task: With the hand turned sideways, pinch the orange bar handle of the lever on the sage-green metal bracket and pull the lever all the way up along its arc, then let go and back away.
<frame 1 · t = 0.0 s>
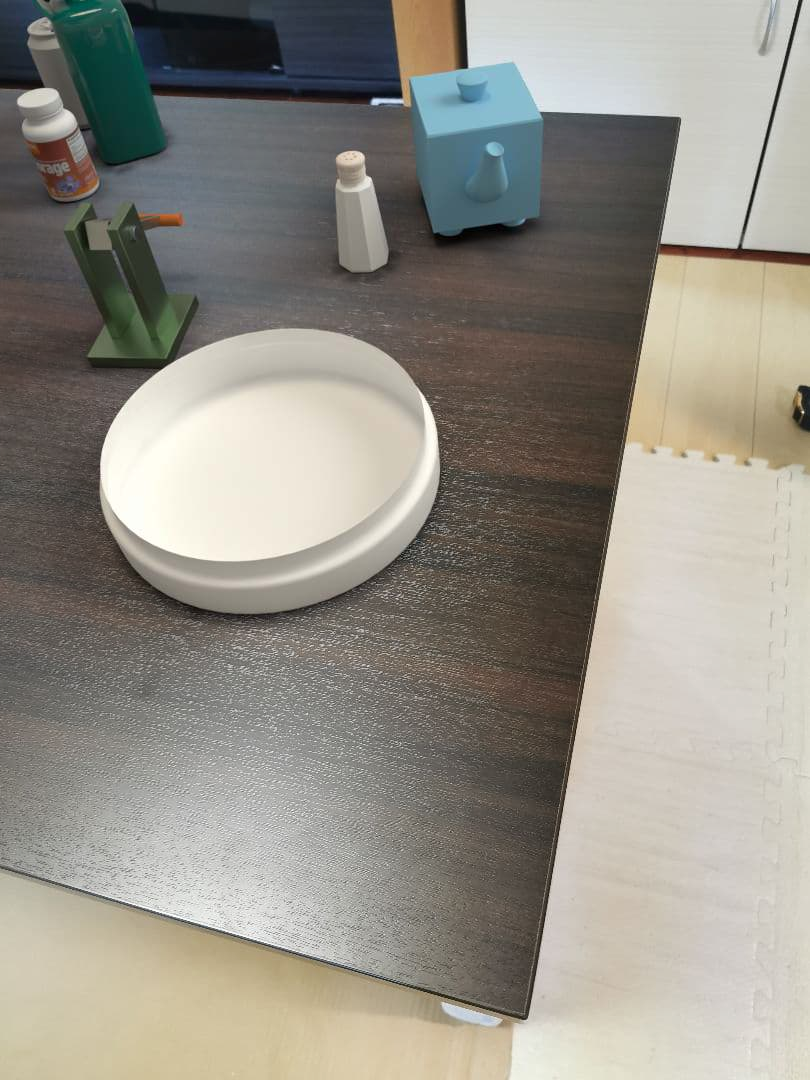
white round dish: (277, 480, 69), on the table
teapot: (478, 217, 91), on the table
can: (88, 120, 115), on the table
salt shaker: (364, 260, 88), on the table
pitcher: (128, 149, 109), on the table
lever: (131, 227, 79), point 9 cm above the table, hinge at -25.0°
pill bottle: (76, 191, 103), on the table
bracket: (146, 334, 83), on the table
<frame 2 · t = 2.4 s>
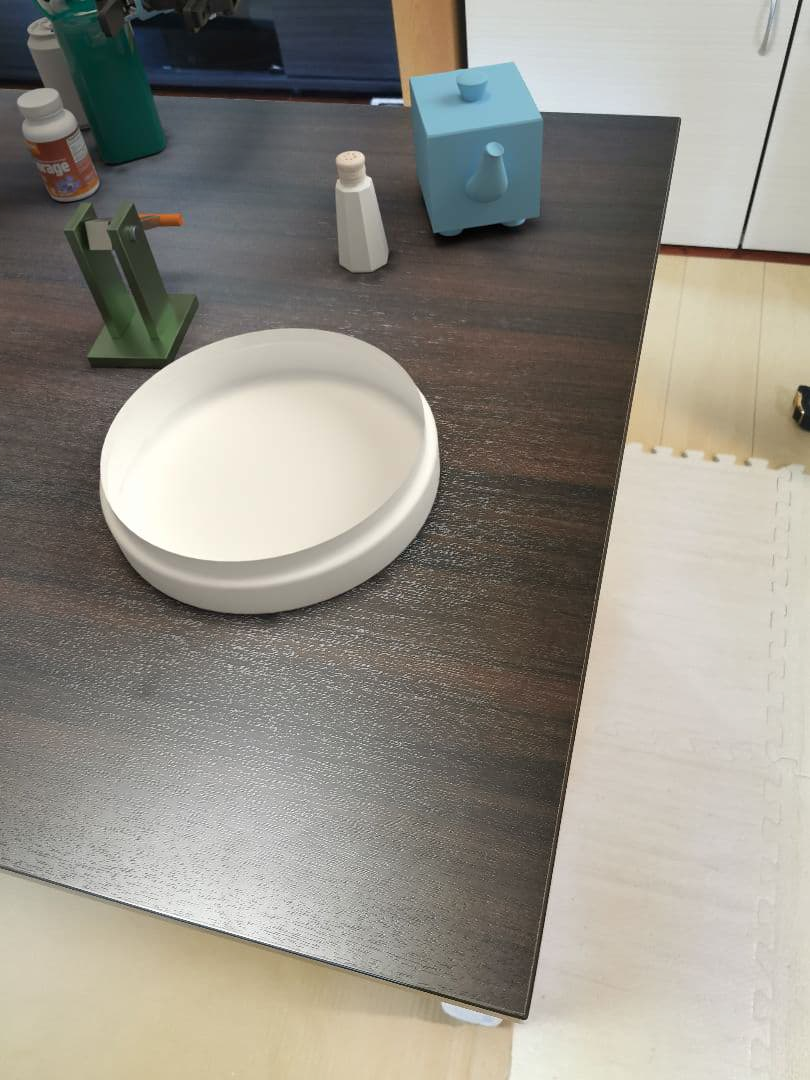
hand: (147, 24, 80), 20 cm above the table, tool horizontal, fingers open, 8 cm apart
nothing on the table moved.
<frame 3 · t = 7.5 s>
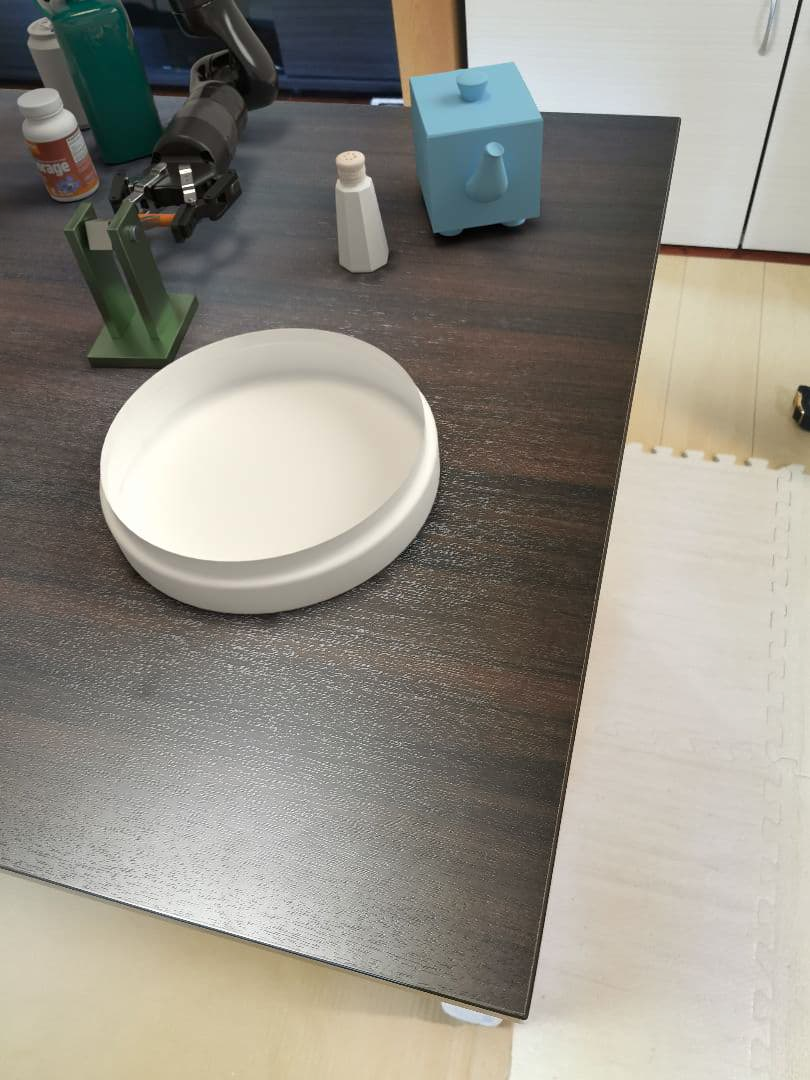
hand: (149, 234, 83), 6 cm above the table, tool horizontal, fingers closed on lever, 5 cm apart
lever: (131, 227, 79), point 9 cm above the table, hinge at -25.0°, touching gripper
everything else where it was.
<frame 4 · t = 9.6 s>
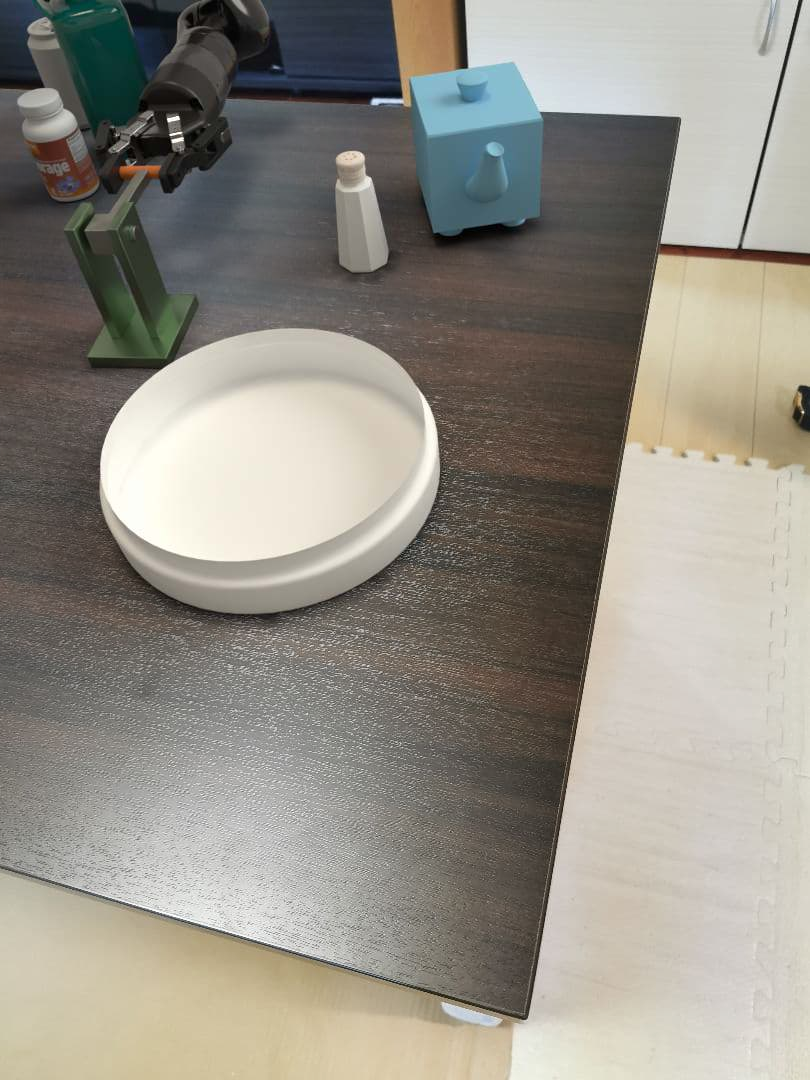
hand: (136, 184, 80), 11 cm above the table, tool horizontal, fingers closed on lever, 5 cm apart
lever: (125, 204, 78), point 11 cm above the table, hinge at -1.1°, touching gripper
everything else where it was.
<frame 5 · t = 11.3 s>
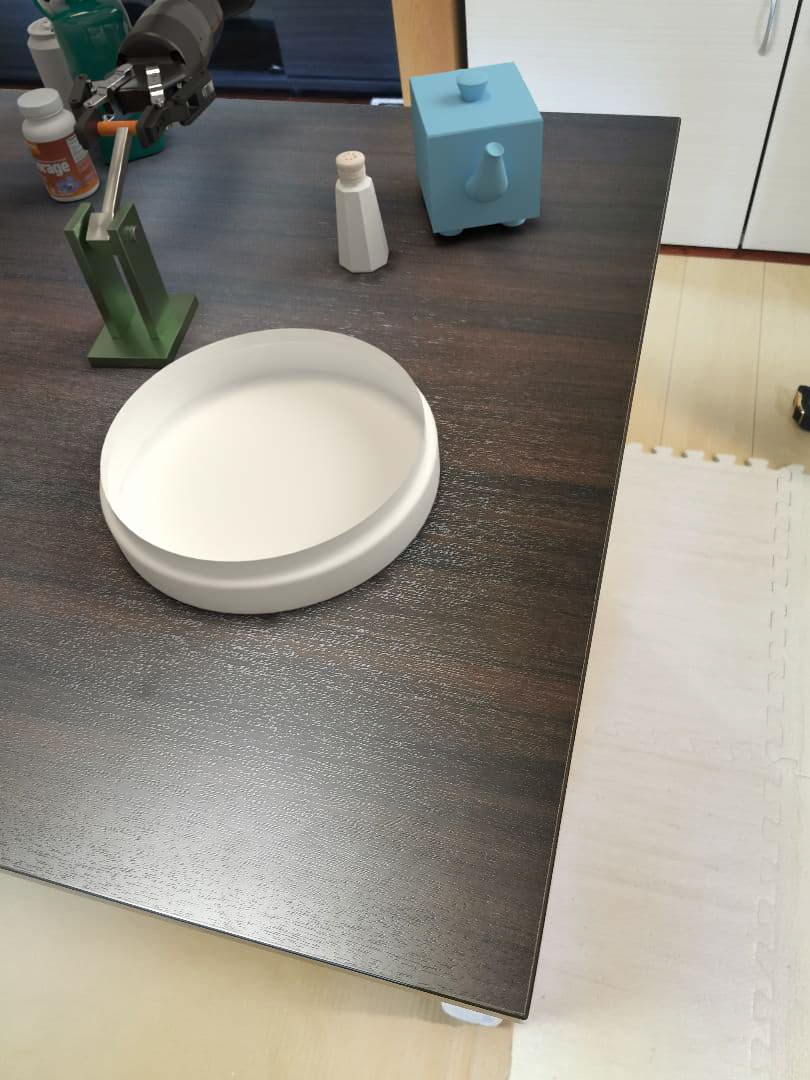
hand: (112, 139, 75), 16 cm above the table, tool horizontal, fingers closed on lever, 5 cm apart
lever: (115, 184, 76), point 13 cm above the table, hinge at 24.6°, touching gripper
everything else where it was.
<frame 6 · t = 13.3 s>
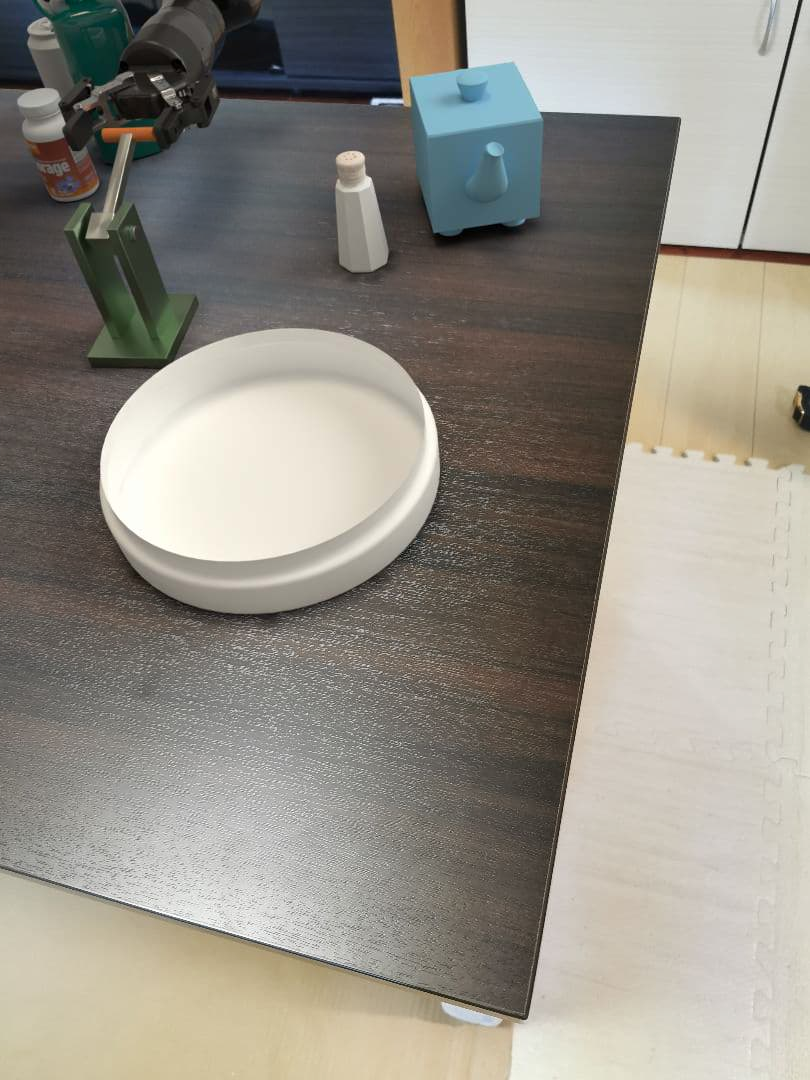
hand: (115, 140, 76), 16 cm above the table, tool horizontal, fingers open, 8 cm apart
lever: (117, 187, 76), point 13 cm above the table, hinge at 20.2°
everything else where it was.
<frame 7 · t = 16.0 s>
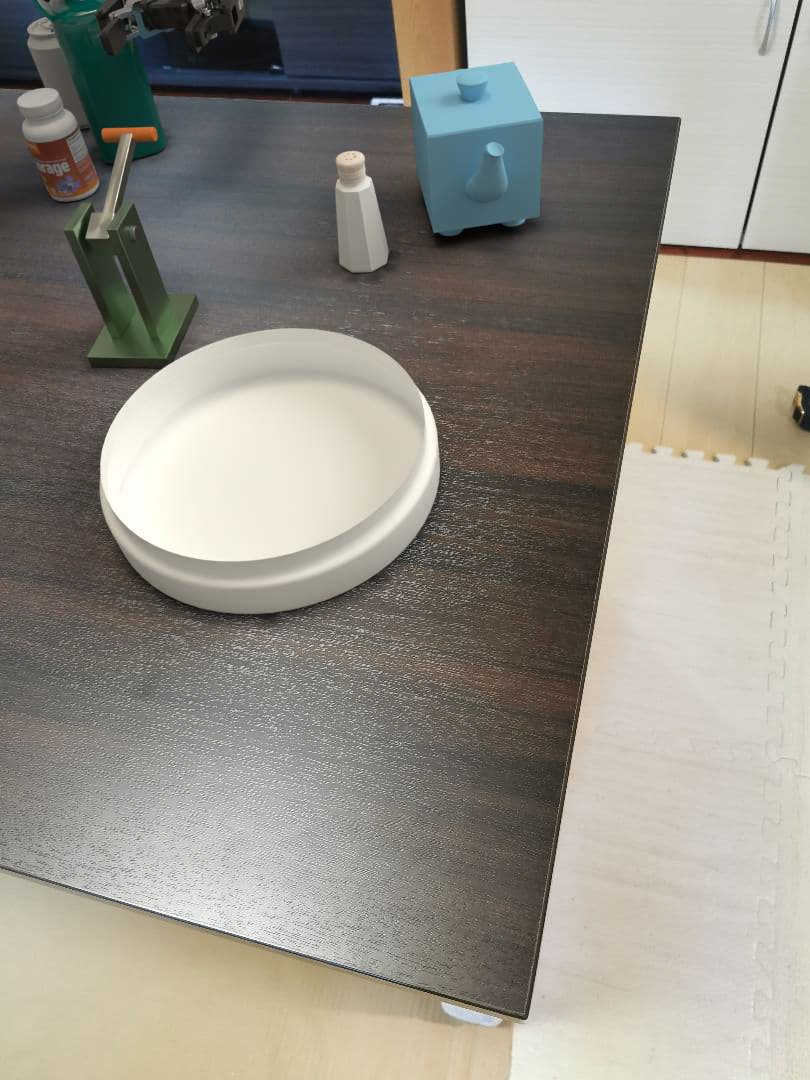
hand: (149, 44, 81), 19 cm above the table, tool horizontal, fingers open, 8 cm apart
nothing on the table moved.
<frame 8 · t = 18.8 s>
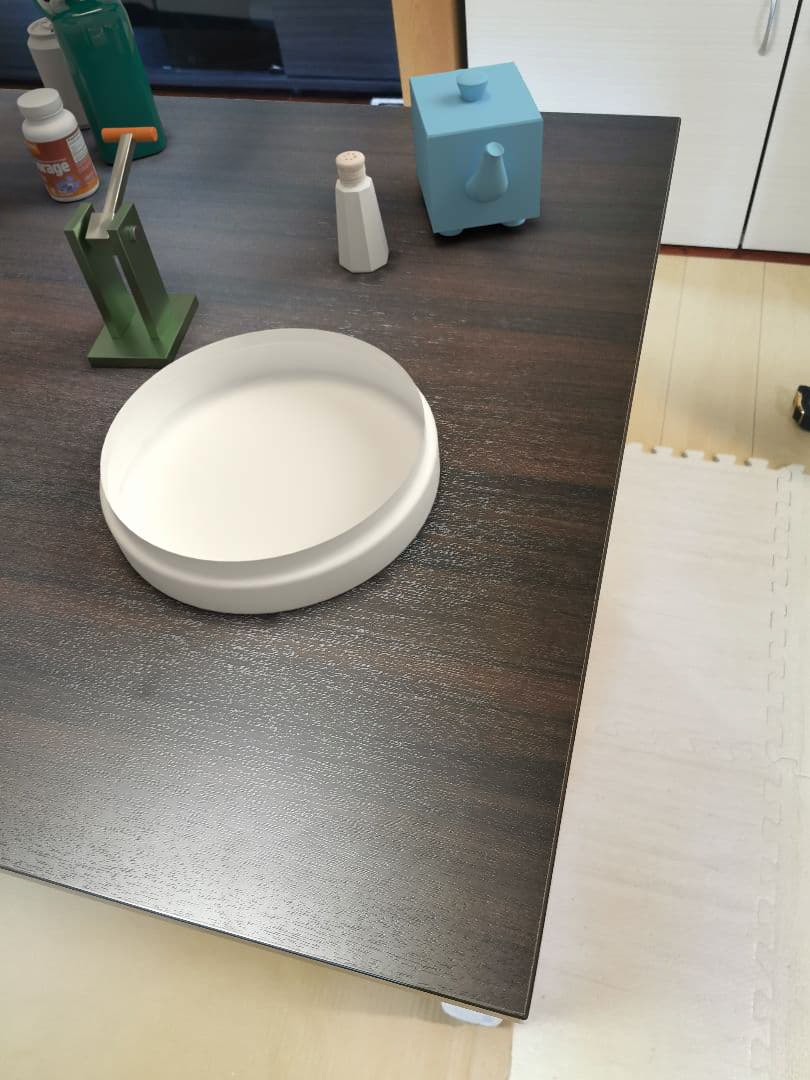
nothing on the table moved.
at the end: lever at +20° (first picture: -25°); lever reached +25° during the clip, +20° at the end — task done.
